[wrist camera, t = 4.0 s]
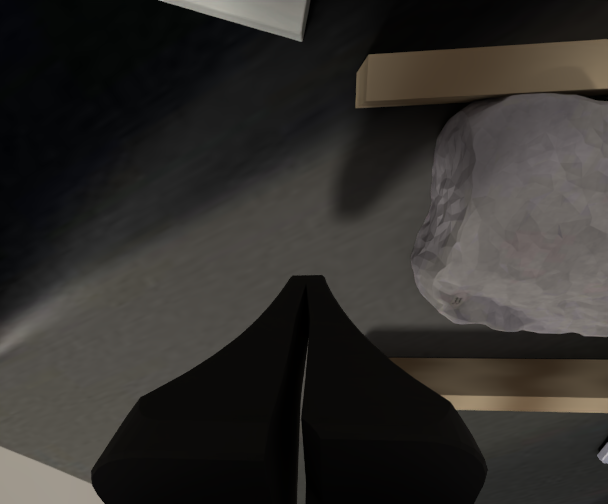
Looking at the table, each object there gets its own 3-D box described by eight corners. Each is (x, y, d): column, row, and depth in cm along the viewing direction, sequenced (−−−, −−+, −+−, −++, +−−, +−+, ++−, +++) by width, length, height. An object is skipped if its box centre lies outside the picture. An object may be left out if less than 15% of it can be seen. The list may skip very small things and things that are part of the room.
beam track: (1046, -76, 7) (1588, -231, 4) (672, 374, 15) (763, 436, 12) (360, -19, 9) (385, -106, 5) (345, 370, 17) (351, 425, 14)
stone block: (579, 288, 16) (765, 100, 10) (659, 362, 12) (1057, 126, 6) (384, 269, 16) (444, 82, 10) (400, 333, 12) (511, 93, 6)
